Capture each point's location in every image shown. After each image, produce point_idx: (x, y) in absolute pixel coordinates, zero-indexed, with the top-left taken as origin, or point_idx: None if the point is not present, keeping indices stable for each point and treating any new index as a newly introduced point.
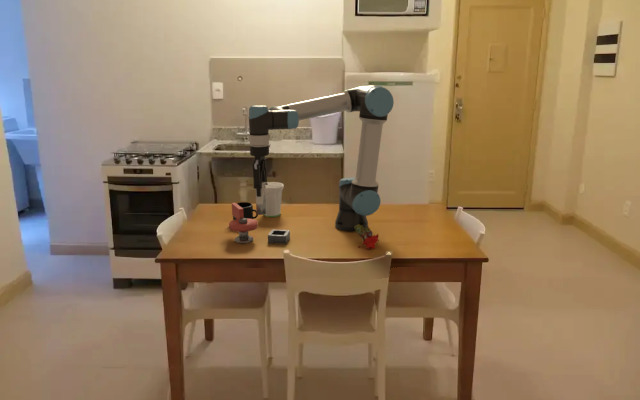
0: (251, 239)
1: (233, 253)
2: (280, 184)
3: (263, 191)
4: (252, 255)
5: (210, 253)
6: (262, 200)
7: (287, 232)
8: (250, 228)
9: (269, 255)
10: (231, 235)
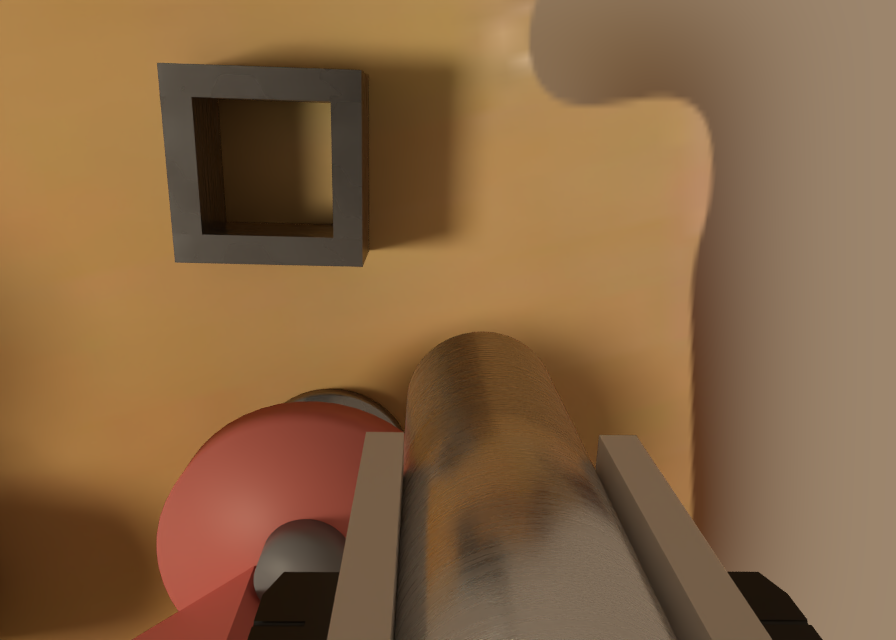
0: (341, 404)
1: None
2: None
3: (646, 601)
4: (662, 310)
5: None
6: (662, 477)
7: (237, 74)
8: None
9: (659, 171)
10: None
